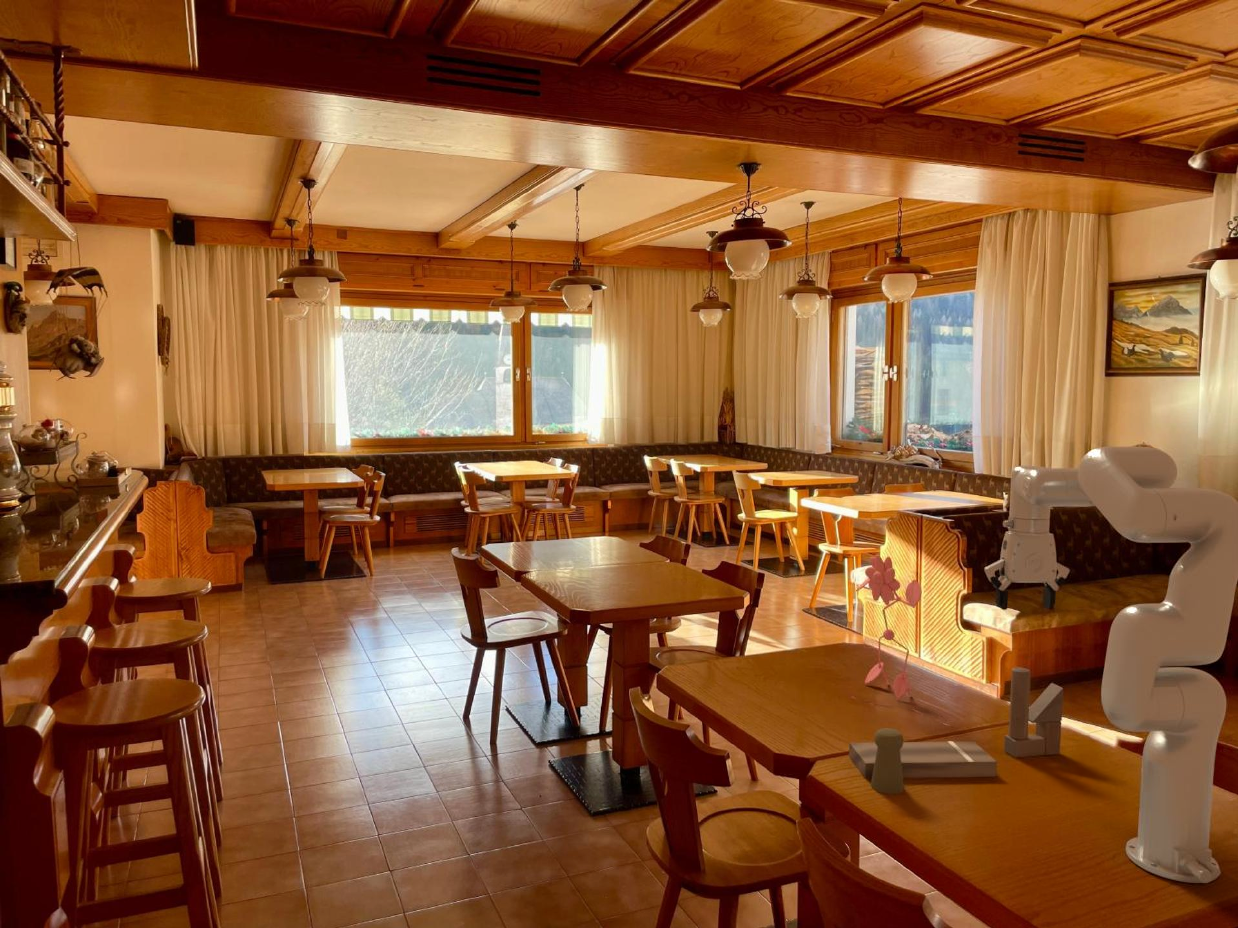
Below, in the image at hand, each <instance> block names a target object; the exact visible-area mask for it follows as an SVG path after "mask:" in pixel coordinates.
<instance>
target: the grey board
mask: <svg viewBox="0 0 1238 928" xmlns="http://www.w3.org/2000/svg"><path fill="white" fill-rule="evenodd" d="M848 746H849V748H848V749H849V750H848V754H849V755H848V758H849V759H850V760H851V762H852V764H854V765H855V767H856V768H857V769H858V771H859V773H860V774H861V775H862V776H863V777H864V778H865V779H872V776H873V770H874V764H875V758H876V753H877V745H876V744H875V742H849V745H848ZM900 755H901V765H902V775H903V779H906V778H907V779H914V778H915V779H916V778H918V779H919V778H920V779H921V778H922V779H925V778H993V777H997V766H998V764H997V763H998V762H997V761H996V759H994V758H993V757H992V756H991V755H989V753H987V752H986V751H985V750H984V749H983V748H982V747H981V746H980V745H978V744H977V743H976V742H975V741H952V740H947V741H909V742H907V741H903V746H902V748H901V749H900Z"/></svg>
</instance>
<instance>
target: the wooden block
mask: <svg viewBox="0 0 1238 928" xmlns="http://www.w3.org/2000/svg"><path fill="white" fill-rule="evenodd" d="M1031 673H1032V672H1031V670H1030V669H1028V668H1025V667H1019V666H1018V667H1012V669H1011V679H1010V681H1011V682H1010V696H1009V697H1010V700H1009V701H1010V703H1009V717H1008V718H1009V719H1008V723H1009V724H1008V734H1005V735H1004V745H1003V746H1004V747H1003V750H1004V752H1005V753H1006V754H1008V755H1010V756H1011V757H1013V758H1027V757H1038V756H1051V755H1052V756H1053V755H1059V754H1060V753H1061V737H1062V736H1061V734H1062V721H1063V706H1064V705H1063V704H1064V687H1061V685H1060V686H1059V685H1057V684H1055V683H1054V682H1051V683H1050V684H1049V685H1048V686H1047V687H1046V688H1045V689H1044V691H1043V692H1042V693H1041V694H1040V695H1039V696H1038V698H1036V700H1035V701H1034V702H1033V703H1032V704H1031V705H1030V700H1031V699H1030V697H1031V695H1030V694H1031V693H1030V692H1031V676H1032V674H1031ZM1029 723H1031V724H1035V733H1034V734H1032V733H1029Z"/></svg>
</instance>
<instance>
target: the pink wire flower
mask: <svg viewBox="0 0 1238 928" xmlns="http://www.w3.org/2000/svg"><path fill="white" fill-rule="evenodd" d="M869 562H870V564H871V566H869V567H867V568H866V569H865V572H864V574H865V576H866V577H867V578H866V579H865V580H864V581H863V582H862V583H861V584H860V585H859V586H858V587H857V589H856V590H855V592H858V591H860V590H861V589H863V588H864V587H865V586H867V585H868V587H869V589H870V590H871V594H872V595H871V596H872V599H873V601H875V602H877V601H879V599H881V600H882V602H883V603H884V604H885V605H886V606H885V607H883V609H882V615H883V620H884V623H885V630H883V633H882V635H881V636H879V638H878V662H877V664H875V665H874V666H873V667H872V668H871V669H870V670H869V672H868V673H867V676H866V678H865V680H864V685H868V684H870V683H872V682H874V681H875V680H876V679H877V678H879V676H880V675H881V673H882V675H883V678H884V679H885V682H886V685H887V686H889V685H890V682H889V680H888V677H887V675H886V673H885V671H884V668H885V667H884V666H885V663H884V662H882V661H881V639H883V638H884V640H886V641H893V642H895V643H896V644H897V645H899V646H900V647H902V648H903V649H904V650H906V656H905V659H904V665H903V669H902V673H899V674H898V675H897V676H896V678H895V679H894V682H893V684H892V686H893V689H892V690H893V692H894V695H895V697H896V700H897V701H899V700H901V698H903V697H904V696H905V694H908V696H909V697H910V698H911V697H913V695H912V692H911V691H910V687H909V686H910V681H909V676H908V675H907V674H906V673H905V671H906V667H907V663H908V657H909V654H910V650H909V649H908V648H907V647H905V645H903V644H901V643H900V642H899V641H897V640H896V639H894V638H895V631H893V630H892V629H889V626H888V621H887V616H886V611H885V610H886V609H888V608H890V607H892V606H893V605H895V603H898V602H900V603H903V604H905V605H907V606H910V607H911V608H914V609H915V607H916V606H917V605H918V603H919V602H920V600H921V597H922V594H923V593H922V587H921V585H920V583H919V582H917V580H916V579H913V580H912V581H911V582H910V583H908V585H907V586H906V589H905V599H906V600H903V599H902V597H900V596H899V595H898V594H897V592H896V591H898V590H899V589H901V588H900V587H901V583H900V581H899V580H897V579H896V578H895V577H896V570H895V568H893V562H892V558H891V557H890V556H886V557H885V559H884V560H883V558H882V557H881V555H879V554H875V555H874V556H872V557H871V556H870V560H869ZM890 601H891V602H890ZM845 691H846V692H848V691H847V690H846V689H845ZM849 695H850V696H851V698H853V699H855V700H859V701H861V702H865V703H867V704H869V705H873V706H874V705H875V706H881V707H884V705H882V704H877V703H873V702H869V701H865V700H863V699H860V698H858V697H855V696H853V695H852V694H851V693H849ZM885 707H888V708H892V705H891V706H889V705H885Z"/></svg>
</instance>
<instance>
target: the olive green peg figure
mask: <svg viewBox="0 0 1238 928" xmlns="http://www.w3.org/2000/svg"><path fill="white" fill-rule="evenodd" d="M903 742H904V736H903V734H902V733H901V732H900V731H898V730H897V729H894V728H889V727H886V728H885V727H884V728H880V729H878V730H877V731H876V732H875V734H874V743H875V744H876V745H877V753H876V758H875V764H874V770H873V776H872V778H871V782H870V787H871V789H873V790H875V792H879V793H881V794H886V795H899V794H901V792H902V793H903V792H904V789H905V786H904V778H903V775H902V765H901V755H900V749H901V748H902V746H903Z"/></svg>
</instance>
